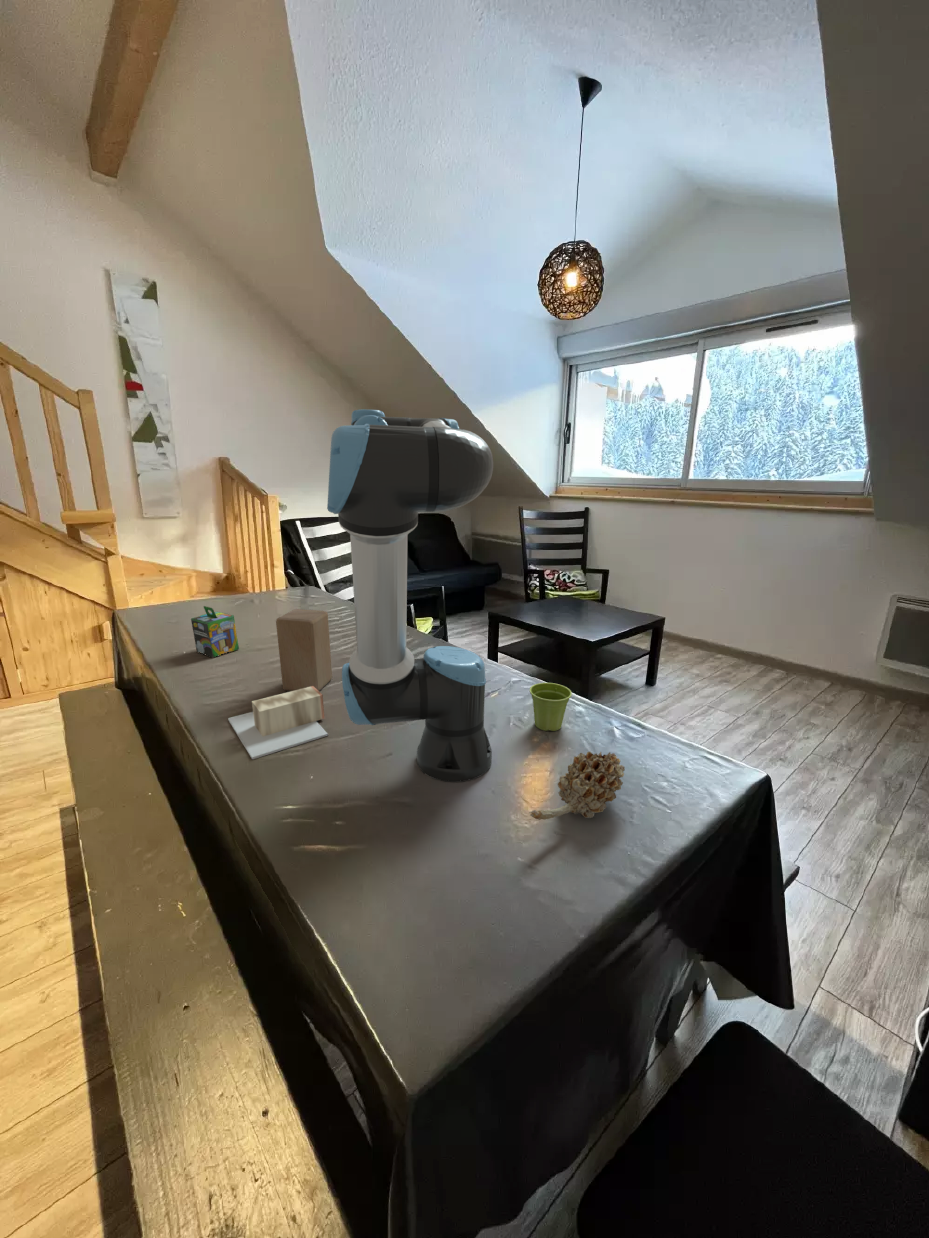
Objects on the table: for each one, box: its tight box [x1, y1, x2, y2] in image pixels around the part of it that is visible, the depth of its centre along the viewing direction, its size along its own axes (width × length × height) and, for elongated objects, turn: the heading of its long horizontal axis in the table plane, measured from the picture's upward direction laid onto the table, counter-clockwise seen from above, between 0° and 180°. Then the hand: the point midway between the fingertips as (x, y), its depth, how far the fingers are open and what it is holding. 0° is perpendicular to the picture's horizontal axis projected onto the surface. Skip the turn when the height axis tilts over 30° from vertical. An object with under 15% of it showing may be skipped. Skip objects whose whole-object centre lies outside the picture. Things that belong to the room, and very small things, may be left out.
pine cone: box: [528, 751, 626, 821], centre depth 85 cm, size 22×10×10 cm, turn 135°
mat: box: [227, 711, 329, 760], centre depth 114 cm, size 20×16×1 cm
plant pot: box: [529, 682, 573, 732], centre depth 116 cm, size 9×9×9 cm
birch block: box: [251, 686, 325, 736], centre depth 115 cm, size 6×6×14 cm
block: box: [275, 608, 333, 692], centre depth 133 cm, size 10×10×20 cm
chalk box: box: [190, 605, 240, 658], centre depth 157 cm, size 9×9×15 cm
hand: (375, 581), depth 124 cm, fingers closed
